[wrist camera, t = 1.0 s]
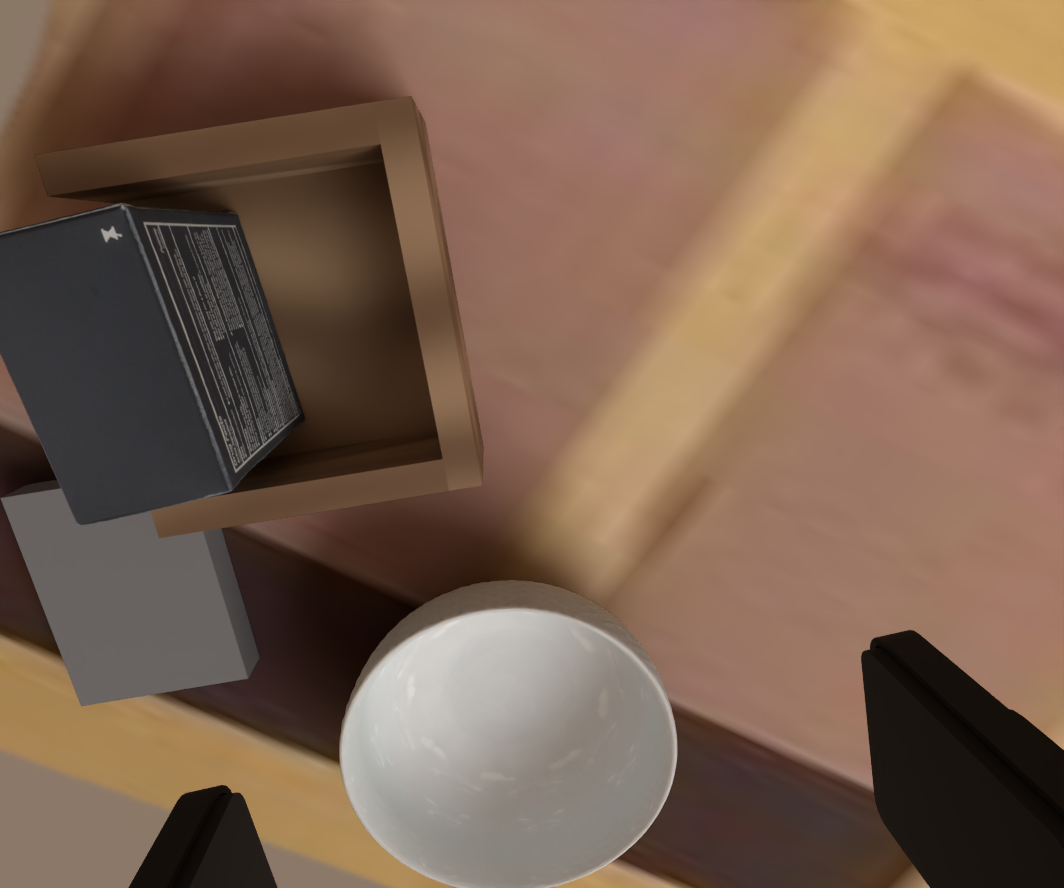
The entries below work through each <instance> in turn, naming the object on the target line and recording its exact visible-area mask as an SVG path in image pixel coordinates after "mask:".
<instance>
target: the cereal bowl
mask: <svg viewBox="0 0 1064 888" xmlns="http://www.w3.org/2000/svg"><path fill="white" fill-rule="evenodd" d="M339 757H340V768H341V774H342V779H343V783H344V786H345V789H346V792H347V795H348V798H349V800H350V803H351V805H352V807H353V809H354V811H355V813H356V815H357V816H358V818H359V820H360V821H361V823H362V824H363V826H364V827H365V828H366V830H367V831H368V832H369V833H370V834H371V836H372V837H373V838H374V839H375V840H376V841H377V842H378V843H379V844H380V845H381V846H382V847H383V848H384V849H385V850H386V851H387V852H389V853H390V854H391V855H392V856H393V857H395V858H396V859H397V860H399V861H400V862H402V863H403V864H405V865H406V866H408V867H409V868H411V869H413V870H415V871H417V872H418V873H420V874H422V875H424V876H426V877H428V878H431V879H433V880H436V881H439V882H441V883H444V884H448V885H451V886H455V887H458V888H550V887H554V886H558V885H561V884H564V883H568V882H571V881H573V880H576V879H579V878H581V877H584V876H586V875H589V874H591V873H593V872H595V871H597V870H599V869H600V868H602V867H604V866H606V865H607V864H609V863H610V862H612V861H613V860H615V859H616V858H618V857H619V856H620V855H622V854H623V853H624V852H625V851H626V850H628V849H629V848H630V847H631V846H632V845H633V844H635V843H636V842H637V840H638V839H639V838H640V837H641V836H642V835H643V834H644V833H645V832H646V831H647V829H648V828H649V827H650V826H651V824H652V823H653V821H654V820H655V818H656V817H657V815H658V814H659V812H660V810H661V808H662V806H663V805H664V803H665V801H666V798H667V796H668V794H669V791H670V788H671V785H672V782H673V778H674V774H675V769H676V762H677V735H676V728H675V721H674V717H673V714H672V708H671V705H670V703H669V700H668V695H667V692H666V690H665V689H664V686H663V682H662V680H661V678H660V676H659V675H658V672H657V669H656V667H655V666H654V664H653V663H652V661H651V659H650V657H649V655H648V653H647V652H646V651H645V650H644V649H643V647H642V645H641V644H640V643H639V642H638V640H637V639H635V637H634V636H633V634H632V633H631V632H630V631H629V630H628V629H626V627H625V626H624V625H623V624H622V623H621V622H620V621H619V620H617V619H616V618H615V617H614V616H613V615H612V614H611V613H609V612H607V611H606V610H605V609H603V608H601V607H600V606H598V605H597V604H596V603H594V602H593V601H590V600H588V599H586V598H584V597H582V596H580V595H579V594H578V593H573V592H570V591H569V590H566V589H563V588H561V587H555V586H552V585H550V584H544V583H542V582H540V583H535V582H533V581H515V580H508V581H503V580H500V581H491V582H481V583H479V584H472V585H470V586H465V587H460V588H459V589H454V590H453V591H451V592H449V593H445V594H442V595H441V596H439V597H436V598H434V599H433V600H431V601H429V602H426V603H425V604H424V605H422V606H421V607H419V608H417V609H416V610H415V611H413V612H411V613H410V614H409V615H408V616H407V617H406V618H404V619H402V620H401V621H400V622H399V623H398V624H397V625H396V626H395V627H394V628H393V629H392V630H391V631H390V632H388V634H387V635H386V637H385V638H384V639H383V640H382V641H381V642H380V644H379V645H378V646H377V648H376V650H375V651H374V652H373V653H372V654H371V656H370V658H369V660H368V662H367V663H366V665H365V666H364V668H363V669H362V672H361V675H360V676H359V678H358V679H357V681H356V685H355V688H354V689H353V691H352V693H351V695H350V700H349V702H348V704H347V706H346V712H345V716H344V718H343V721H342V726H341V735H340V743H339Z"/></svg>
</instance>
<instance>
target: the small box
mask: <svg viewBox="0 0 1064 888" xmlns="http://www.w3.org/2000/svg"><path fill="white" fill-rule="evenodd" d="M0 354H1V356H2V359H3V361H4V363H5V365H6V367H7V370H8V372H9V374H10V376H11V378H12V381H13V383H14V385H15V387H16V389H17V392H18V394H19V396H20V398H21V400H22V403H23V405H24V407H25V409H26V412H27V414H28V416H29V418H30V420H31V423H32V425H33V427H34V429H35V432H36V434H37V436H38V438H39V440H40V443H41V445H42V447H43V449H44V451H45V454H46V456H47V458H48V460H49V463H50V465H51V467H52V469H53V471H54V474H55V476H56V478H57V480H58V483H59V485H60V487H61V489H62V492H63V494H64V496H65V498H66V501H67V503H68V505H69V508H70V510H71V512H72V514H73V516H74V519H75V521H76V523H77V524H78V525H81V526H85V525H91V524H96V523H101V522H106V521H111V520H115V519H119V518H123V517H127V516H132V515H136V514H141V513H146V512H150V511H153V510H158V509H162V508H166V507H170V506H174V505H179V504H183V503H187V502H191V501H195V500H199V499H203V498H208V497H211V496H216V495H220V494H224V493H228V492H230V491H232V490H233V489H234V488H235V487H236V486H237V485H238V484H239V482H240V480H241V479H242V478H243V477H244V476H246V474H247V473H248V472H249V471H250V470H251V469H252V468H253V467H254V466H256V464H257V463H258V462H260V461H261V460H262V459H263V458H264V457H265V456H266V455H267V454H268V453H269V452H270V451H271V450H272V449H273V448H275V447H276V446H277V445H278V444H279V443H280V442H281V441H282V440H283V439H284V438H285V437H286V436H288V435H289V434H290V432H291V431H292V430H294V429H295V428H296V427H297V426H299V425H301V424H302V423H303V422H304V421H305V416H304V413H303V410H302V407H301V404H300V401H299V398H298V394H297V391H296V388H295V385H294V382H293V379H292V376H291V373H290V370H289V367H288V364H287V361H286V357H285V354H284V352H283V349H282V346H281V343H280V340H279V336H278V333H277V331H276V328H275V325H274V321H273V318H272V315H271V312H270V309H269V307H268V303H267V299H266V297H265V294H264V291H263V288H262V285H261V282H260V279H259V276H258V273H257V269H256V267H255V264H254V261H253V258H252V255H251V252H250V249H249V246H248V243H247V241H246V238H245V234H244V232H243V229H242V226H241V223H240V220H239V216H238V214H236V213H234V212H232V211H230V210H228V209H226V210H223V211H222V212H218V211H203V210H194V209H175V208H162V207H144V206H133V205H129V204H125V203H115V204H112V205H109V206H106V207H102V208H97V209H94V210H90V211H86V212H82V213H78V214H74V215H69V216H65V217H61V218H56V219H53V220H49V221H46V222H42V223H38V224H34V225H29V226H25V227H20V228H16V229H12V230H7V231H4V232H0Z"/></svg>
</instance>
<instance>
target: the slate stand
mask: <svg viewBox="0 0 1064 888" xmlns="http://www.w3.org/2000/svg"><path fill="white" fill-rule="evenodd" d="M1 500H2V503H3V506H4V508H5V511H6V513H7V516H8V519H9V521H10V524H11V526H12V529H13V531H14V534H15V537H16V539H17V542H18V544H19V547H20V550H21V552H22V555H23V557H24V560H25V562H26V565H27V568H28V570H29V573H30V575H31V578H32V581H33V583H34V586H35V588H36V591H37V593H38V596H39V599H40V601H41V604H42V606H43V609H44V611H45V614H46V617H47V619H48V622H49V624H50V627H51V630H52V632H53V635H54V637H55V640H56V642H57V645H58V648H59V650H60V653H61V655H62V658H63V661H64V663H65V666H66V668H67V671H68V673H69V676H70V679H71V681H72V684H73V686H74V689H75V692H76V694H77V697H78V699H79V702H80V704H81V706H85V705H91V704H97V703H103V702H109V701H115V700H121V699H127V698H133V697H140V696H146V695H152V694H158V693H164V692H170V691H176V690H182V689H188V688H194V687H200V686H206V685H212V684H218V683H224V682H230V681H236V680H242V679H248V678H249V676H250V674H251V672H252V670H253V669H254V667H255V665H256V663H257V661H258V660H259V658H260V657H259V654H258V650H257V647H256V643H255V640H254V637H253V633H252V630H251V627H250V623H249V620H248V617H247V613H246V610H245V607H244V603H243V600H242V596H241V593H240V590H239V586H238V583H237V580H236V576H235V573H234V570H233V566H232V563H231V560H230V556H229V553H228V549H227V546H226V543H225V539H224V536H223V533H222V529H221V528H220V529H213V530H207V531H201V532H195V533H189V534H183V535H177V536H171V537H165V538H159V536H158V533H157V530H156V527H155V524H154V521H153V518H152V515H151V512H146V513H141V514H136V515H132V516H127V517H123V518H119V519H115V520H111V521H106V522H101V523H96V524H91V525H85V526H81V525H78V524H77V523H76V521H75V519H74V516H73V514H72V512H71V510H70V508H69V505H68V503H67V501H66V498H65V496H64V494H63V492H62V489H61V487H60V485H59V483H58V480H53V481H46V482H40V483H34V484H28V485H25V486H23V487H21V488H19V489H17V490H15V491H13V492H11V493H10V494H8V495H6V496H4V497H2V498H1Z"/></svg>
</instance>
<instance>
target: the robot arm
mask: <svg viewBox="0 0 1064 888" xmlns="http://www.w3.org/2000/svg"><path fill="white" fill-rule="evenodd" d="M861 662H862V672H863V683H864V693H865V703H866V714H867V724H868V734H869V745H870V755H871V765H872V775H873V786H874V796H875V802H876V806H877V809H878V812H879V814H880V817H881V819H882V821H883V823H884V824H885V826H886V827H887V829H888V830H889V832H890V833H891V834H892V836H893V837H894V838H895V840H896V841H897V843H898V844H899V845H900V847H901V848H902V850H903V851H904V852H905V854H906V855H907V856H908V858H909V859H910V861H911V862H912V863H913V865H914V866H915V867H916V869H917V870H918V872H919V873H920V874H921V876H922V877H923V879H924V880H925V881H926V883H927V884H928V885H929V887H930V888H1064V750H1063V749H1062V748H1060V747H1059V746H1058V745H1057V744H1056V743H1054V742H1053V741H1052V740H1051V739H1050V738H1048V737H1047V736H1046V735H1045V734H1044V733H1042V732H1041V731H1040V730H1039V729H1038V728H1036V727H1035V726H1034V725H1033V724H1032V723H1030V722H1029V721H1028V720H1027V719H1025V718H1024V717H1023V716H1021V715H1020V714H1018V713H1017V712H1015V711H1014V710H1010V709H1008V708H1007V707H1005V706H1004V705H1003V704H1002V703H1001V702H1000V701H998V700H997V699H996V698H995V697H994V696H992V695H991V694H990V693H989V692H988V691H986V690H985V689H984V688H983V687H982V686H980V685H979V684H978V683H977V682H976V681H974V680H973V679H972V678H971V677H970V676H969V675H967V674H966V673H965V672H964V671H963V670H961V669H960V668H959V667H958V666H957V665H955V664H954V663H953V662H952V661H951V660H949V659H948V658H947V657H946V656H945V655H943V654H942V653H941V652H940V651H939V650H937V649H936V648H935V647H934V646H933V645H932V644H930V643H929V642H928V641H927V640H926V639H924V638H923V637H922V636H921V635H920V634H918V633H917V632H915V631H913V630H908V631H903V632H899V633H894V634H890V635H885V636H881V637H877V638H874V639H873V640H872V641H871V644H870V650H866V651H864V652H862V656H861ZM129 888H277V885H276V883H275V880H274V877H273V874H272V872H271V869H270V867H269V864H268V861H267V859H266V856H265V853H264V851H263V848H262V845H261V842H260V839H259V837H258V834H257V831H256V829H255V826H254V823H253V821H252V818H251V815H250V813H249V810H248V807H247V804H246V802H245V799H244V797H243V796H242V795H241V794H240V793H232V792H231V790H230V789H229V788H228V787H227V786H225V785H220V786H216V787H211V788H207V789H202V790H198V791H194V792H189V793H186V794H184V795H182V796H181V797H180V798H179V800H178V801H177V803H176V805H175V806H174V808H173V810H172V812H171V813H170V815H169V817H168V819H167V821H166V822H165V824H164V826H163V828H162V829H161V831H160V833H159V835H158V837H157V838H156V840H155V842H154V844H153V845H152V847H151V849H150V851H149V852H148V854H147V856H146V858H145V859H144V861H143V863H142V865H141V867H140V868H139V870H138V872H137V874H136V875H135V877H134V879H133V881H132V883H131V884H130V886H129Z"/></svg>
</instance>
